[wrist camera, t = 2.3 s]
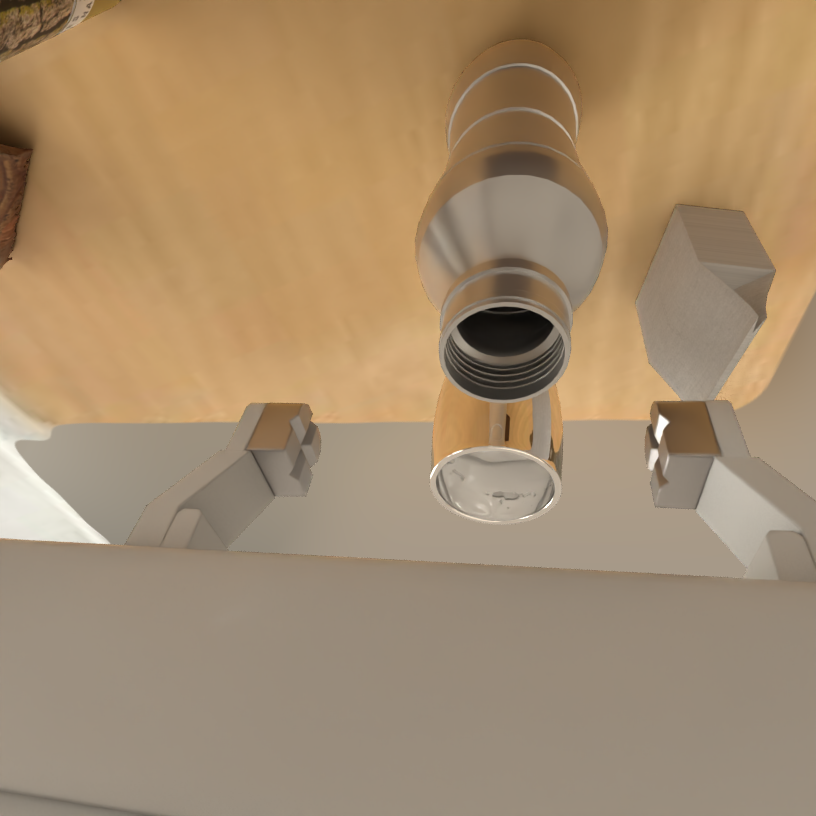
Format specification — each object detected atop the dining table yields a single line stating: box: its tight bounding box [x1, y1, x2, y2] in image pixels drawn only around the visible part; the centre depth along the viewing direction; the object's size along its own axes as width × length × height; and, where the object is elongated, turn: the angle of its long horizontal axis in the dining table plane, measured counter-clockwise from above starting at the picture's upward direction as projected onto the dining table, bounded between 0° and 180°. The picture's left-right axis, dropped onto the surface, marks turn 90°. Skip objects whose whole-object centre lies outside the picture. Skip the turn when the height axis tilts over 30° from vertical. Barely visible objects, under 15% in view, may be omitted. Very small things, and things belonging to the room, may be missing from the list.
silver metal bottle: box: [415, 39, 608, 403], centre depth 22 cm, size 6×7×20 cm
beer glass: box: [430, 376, 563, 524], centre depth 33 cm, size 7×7×15 cm
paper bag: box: [635, 204, 776, 401], centre depth 31 cm, size 4×7×10 cm, turn 177°
